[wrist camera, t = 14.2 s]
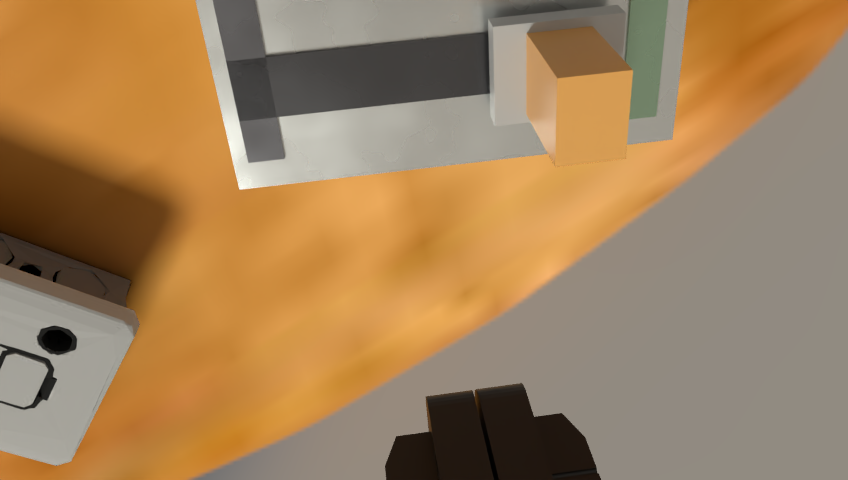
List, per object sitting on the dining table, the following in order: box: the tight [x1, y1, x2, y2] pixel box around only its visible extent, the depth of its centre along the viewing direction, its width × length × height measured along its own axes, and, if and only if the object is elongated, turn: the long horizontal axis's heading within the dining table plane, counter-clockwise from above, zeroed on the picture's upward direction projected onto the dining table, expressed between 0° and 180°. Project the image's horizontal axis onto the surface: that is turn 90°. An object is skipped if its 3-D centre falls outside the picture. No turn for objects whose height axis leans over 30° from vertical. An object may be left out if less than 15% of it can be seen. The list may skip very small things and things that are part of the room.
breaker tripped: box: [488, 5, 633, 167], centre depth 23 cm, size 3×4×4 cm
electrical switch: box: [0, 233, 140, 466], centre depth 33 cm, size 9×5×9 cm
